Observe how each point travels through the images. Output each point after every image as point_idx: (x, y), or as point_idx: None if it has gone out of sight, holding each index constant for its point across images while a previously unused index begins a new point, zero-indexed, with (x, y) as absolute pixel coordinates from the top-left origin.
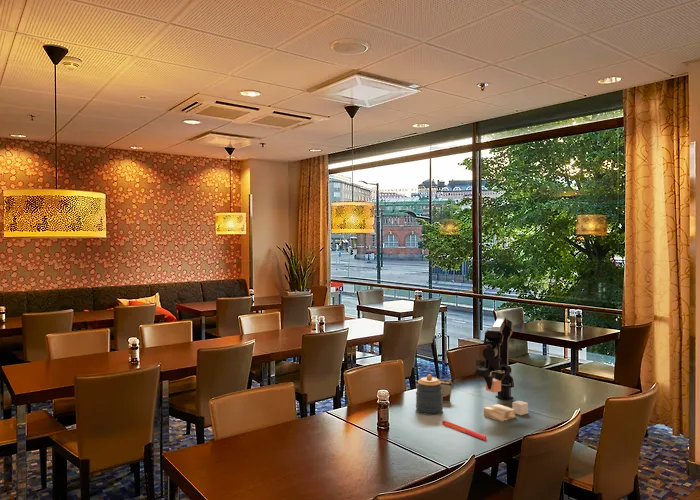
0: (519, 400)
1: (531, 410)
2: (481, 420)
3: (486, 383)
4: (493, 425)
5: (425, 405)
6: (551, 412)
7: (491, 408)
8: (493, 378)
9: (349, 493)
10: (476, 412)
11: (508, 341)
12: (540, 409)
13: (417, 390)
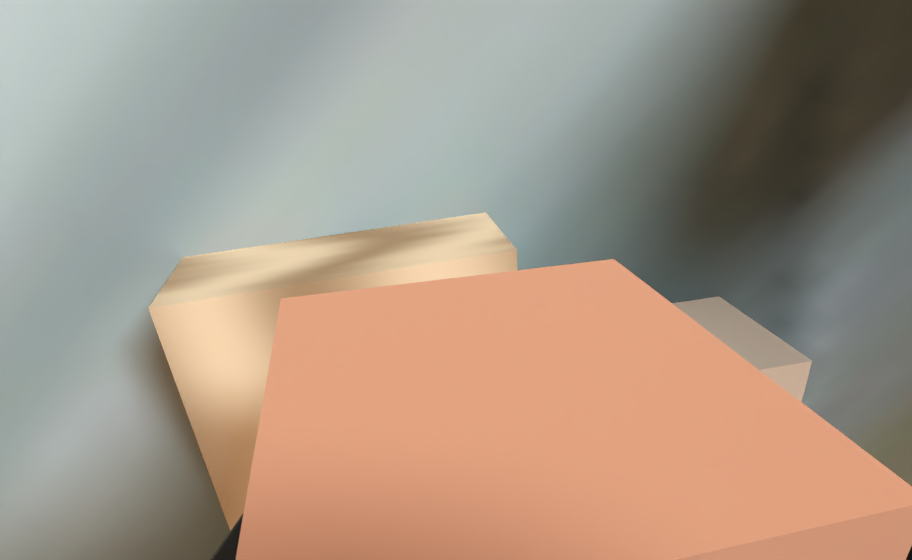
0: (805, 367)
1: (804, 347)
2: (30, 392)
3: (260, 501)
4: (93, 549)
5: None
6: (869, 449)
7: (258, 380)
8: (907, 530)
9: None
10: (148, 96)
11: None
12: (888, 358)
13: None
